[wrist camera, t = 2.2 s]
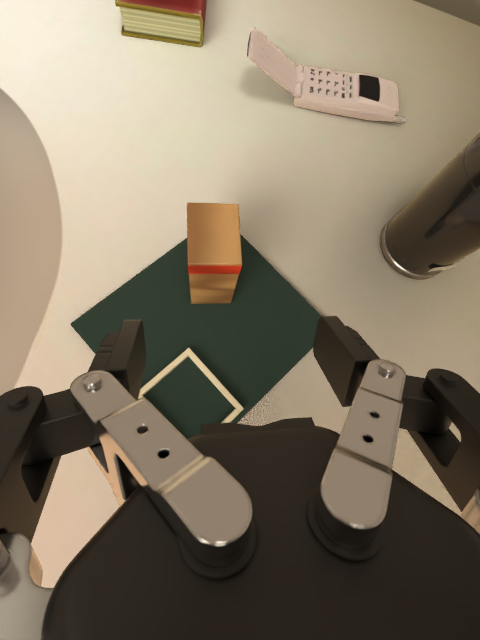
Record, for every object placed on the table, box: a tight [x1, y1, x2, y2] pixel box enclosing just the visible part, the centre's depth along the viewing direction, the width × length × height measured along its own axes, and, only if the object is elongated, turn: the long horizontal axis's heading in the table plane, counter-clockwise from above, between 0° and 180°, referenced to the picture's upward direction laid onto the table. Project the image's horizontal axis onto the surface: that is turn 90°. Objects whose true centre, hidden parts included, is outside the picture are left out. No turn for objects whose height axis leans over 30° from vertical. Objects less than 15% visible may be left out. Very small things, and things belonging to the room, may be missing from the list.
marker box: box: [187, 203, 242, 304], centre depth 33 cm, size 5×6×10 cm
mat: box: [71, 234, 321, 439], centre depth 36 cm, size 22×20×1 cm
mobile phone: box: [247, 28, 406, 123], centre depth 46 cm, size 6×6×25 cm
